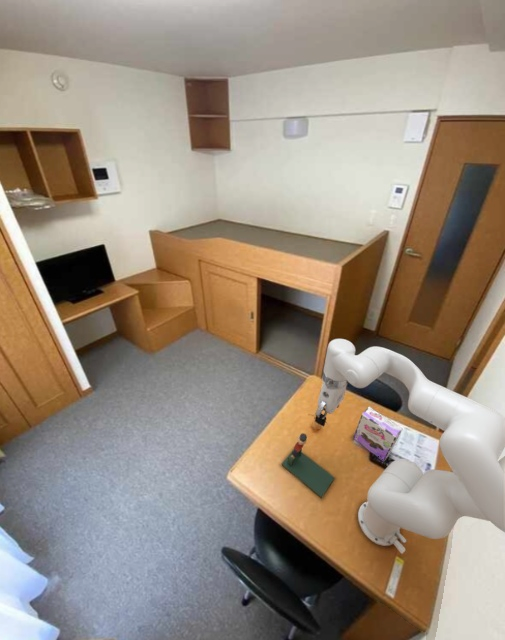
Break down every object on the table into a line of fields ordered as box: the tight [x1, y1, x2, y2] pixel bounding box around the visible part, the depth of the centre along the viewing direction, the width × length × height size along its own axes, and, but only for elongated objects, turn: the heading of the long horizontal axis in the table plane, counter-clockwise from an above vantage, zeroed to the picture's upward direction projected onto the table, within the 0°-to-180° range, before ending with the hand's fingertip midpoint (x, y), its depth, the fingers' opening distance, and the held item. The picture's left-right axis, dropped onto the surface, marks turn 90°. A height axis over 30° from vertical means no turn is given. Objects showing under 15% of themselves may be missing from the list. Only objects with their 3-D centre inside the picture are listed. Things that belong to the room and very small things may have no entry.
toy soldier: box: [291, 433, 308, 459], centre depth 102 cm, size 14×4×3 cm
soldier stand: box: [281, 448, 335, 499], centre depth 104 cm, size 18×9×6 cm, turn 48°
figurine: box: [307, 413, 328, 430], centre depth 118 cm, size 8×6×12 cm
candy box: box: [352, 405, 404, 463], centre depth 110 cm, size 14×6×16 cm, turn 42°
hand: (327, 414), depth 93 cm, fingers open, 9 cm apart
